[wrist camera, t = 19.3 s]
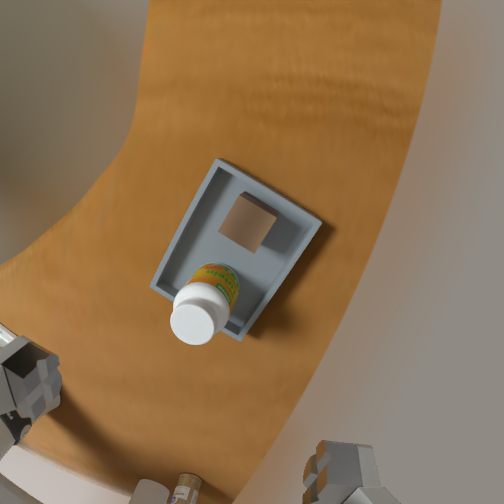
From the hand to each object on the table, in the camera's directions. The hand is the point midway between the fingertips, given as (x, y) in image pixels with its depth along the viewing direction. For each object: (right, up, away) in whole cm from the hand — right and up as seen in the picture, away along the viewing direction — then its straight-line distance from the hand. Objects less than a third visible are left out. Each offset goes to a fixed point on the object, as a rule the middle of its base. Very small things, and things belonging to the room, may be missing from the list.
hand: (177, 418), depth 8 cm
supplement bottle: (-2, +1, +28) cm, 28 cm away
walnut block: (+2, +8, +25) cm, 27 cm away
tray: (0, +5, +27) cm, 27 cm away
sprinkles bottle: (-10, -39, +41) cm, 57 cm away
